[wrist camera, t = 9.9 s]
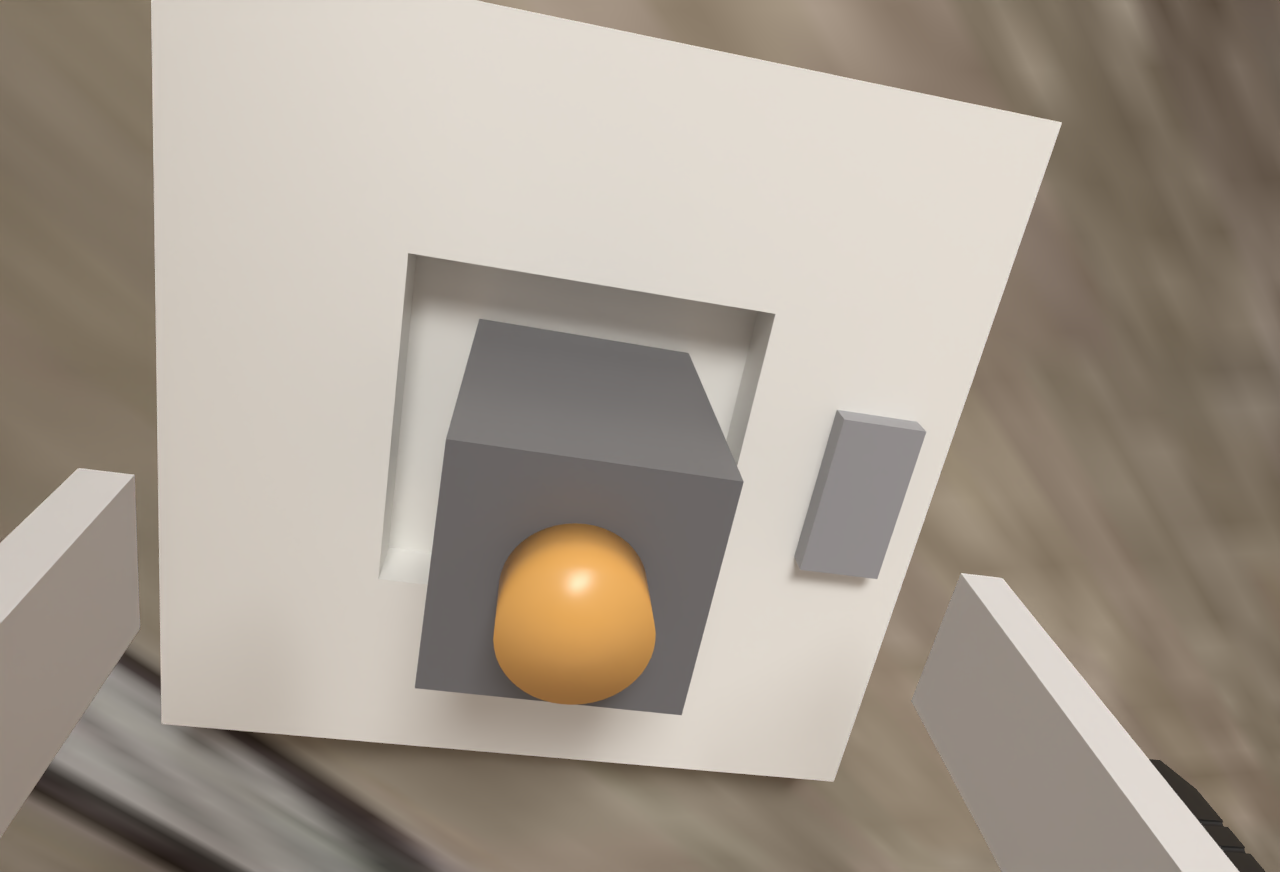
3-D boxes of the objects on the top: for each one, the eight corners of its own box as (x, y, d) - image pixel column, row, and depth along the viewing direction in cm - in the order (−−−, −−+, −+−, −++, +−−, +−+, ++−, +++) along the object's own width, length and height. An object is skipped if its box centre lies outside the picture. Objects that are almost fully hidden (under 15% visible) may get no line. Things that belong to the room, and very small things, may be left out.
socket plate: (190, -57, 18) (135, -72, 16) (1017, 115, 21) (1077, 124, 19) (190, 674, 25) (151, 740, 23) (815, 732, 28) (839, 797, 25)
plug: (479, 318, 21) (434, 479, 13) (688, 353, 22) (762, 524, 14) (453, 508, 23) (401, 746, 15) (648, 533, 24) (692, 772, 16)
